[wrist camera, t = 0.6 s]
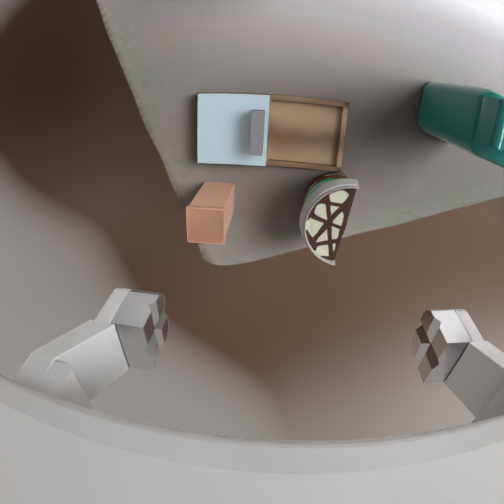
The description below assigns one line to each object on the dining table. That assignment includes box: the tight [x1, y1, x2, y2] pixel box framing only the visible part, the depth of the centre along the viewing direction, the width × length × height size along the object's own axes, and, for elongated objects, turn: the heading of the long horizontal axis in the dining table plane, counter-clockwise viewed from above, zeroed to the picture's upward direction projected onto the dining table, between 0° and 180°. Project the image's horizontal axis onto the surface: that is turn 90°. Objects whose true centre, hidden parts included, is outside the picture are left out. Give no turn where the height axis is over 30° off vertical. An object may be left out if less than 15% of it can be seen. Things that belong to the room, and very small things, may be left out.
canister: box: [186, 181, 235, 245], centre depth 45 cm, size 5×5×11 cm
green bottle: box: [417, 82, 504, 168], centre depth 30 cm, size 10×8×22 cm
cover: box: [197, 93, 270, 166], centre depth 41 cm, size 10×10×4 cm
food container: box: [299, 172, 360, 265], centre depth 44 cm, size 12×6×10 cm, turn 171°
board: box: [197, 92, 349, 172], centre depth 43 cm, size 10×21×1 cm, turn 87°
